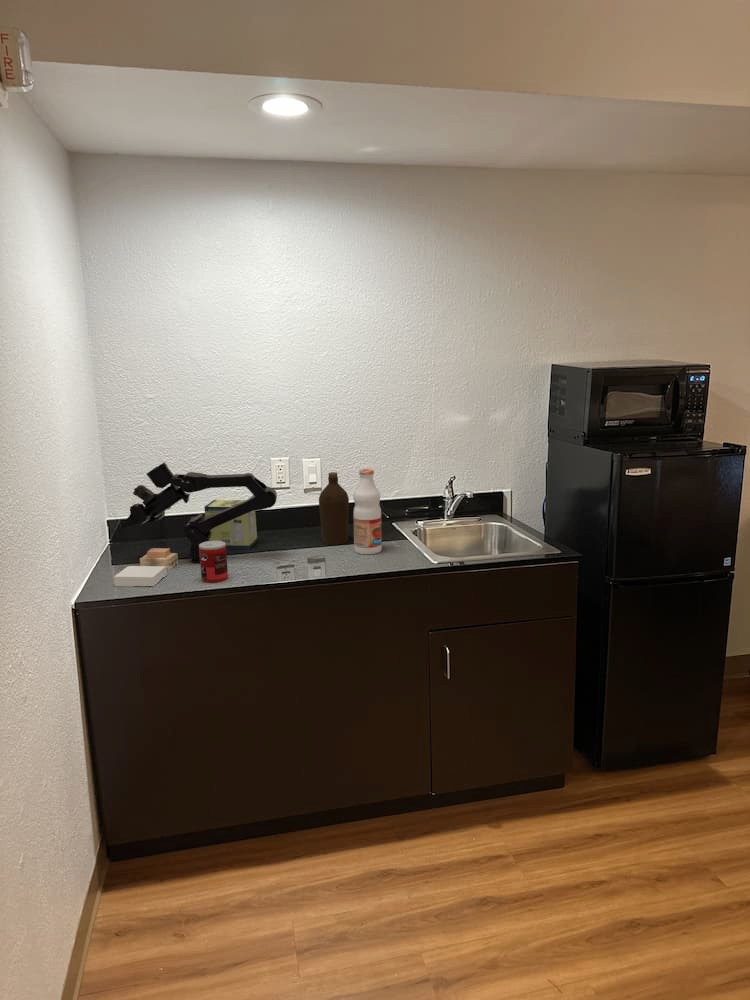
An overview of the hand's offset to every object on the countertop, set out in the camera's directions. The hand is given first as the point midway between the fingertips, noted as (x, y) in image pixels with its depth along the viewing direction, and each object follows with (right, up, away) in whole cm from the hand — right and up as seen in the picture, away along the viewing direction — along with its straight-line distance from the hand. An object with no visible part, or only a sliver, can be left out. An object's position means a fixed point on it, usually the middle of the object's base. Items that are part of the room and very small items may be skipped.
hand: (127, 526), depth 221 cm
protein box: (+30, -8, +21) cm, 37 cm away
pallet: (+11, -13, -1) cm, 17 cm away
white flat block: (+9, -16, -14) cm, 23 cm away
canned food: (+32, -16, -13) cm, 38 cm away
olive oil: (+66, -7, +23) cm, 71 cm away
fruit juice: (+78, -9, +12) cm, 80 cm away
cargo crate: (+11, -10, -1) cm, 15 cm away
